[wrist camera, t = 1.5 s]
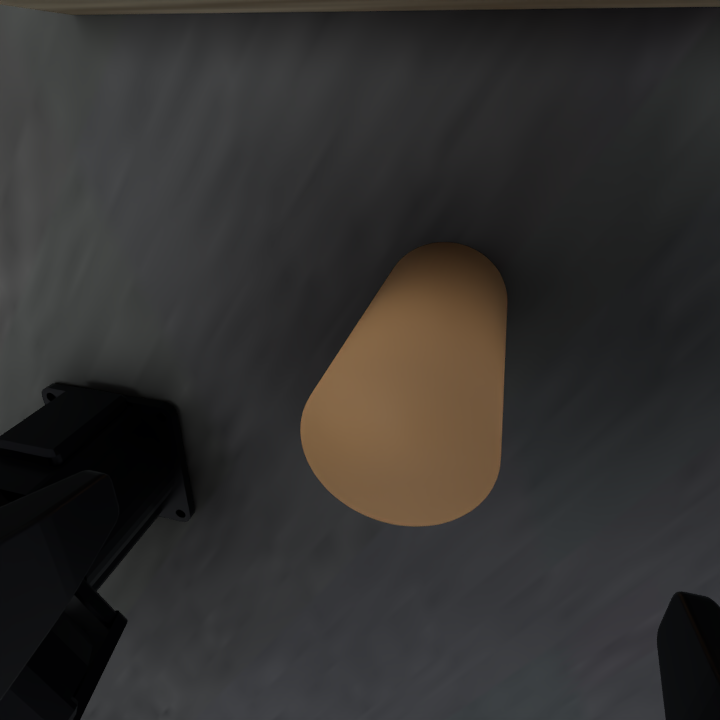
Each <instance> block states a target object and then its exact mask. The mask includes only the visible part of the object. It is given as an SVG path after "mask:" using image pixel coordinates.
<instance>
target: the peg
mask: <svg viewBox="0 0 720 720" xmlns="http://www.w3.org/2000/svg"><path fill="white" fill-rule="evenodd" d="M506 324H507V292H506V287H505V284H504V281H503V278H502V276H501V275H500V273H499V271H498V270H497V268H496V267H495V265H494V264H493V263H492V262H491V261H490V260H489V259H488V258H487V257H485V256H484V255H483V254H482V253H480V252H478V251H477V250H475V249H473V248H470V247H468V246H465V245H462V244H458V243H452V242H437V243H431V244H427V245H424V246H421V247H418V248H416V249H414V250H413V251H411V252H409V253H408V254H407V255H405V256H404V257H403V258H402V259H401V260H400V261H399V262H398V263H397V264H396V265H395V267H394V268H393V270H392V271H391V273H390V274H389V276H388V277H387V279H386V280H385V282H384V283H383V285H382V286H381V288H380V289H379V291H378V293H377V294H376V296H375V297H374V299H373V300H372V302H371V303H370V305H369V306H368V308H367V309H366V311H365V312H364V314H363V316H362V317H361V319H360V320H359V322H358V323H357V325H356V326H355V328H354V329H353V331H352V332H351V334H350V335H349V337H348V339H347V340H346V342H345V343H344V345H343V346H342V348H341V349H340V351H339V352H338V354H337V355H336V357H335V358H334V360H333V362H332V363H331V365H330V366H329V368H328V369H327V371H326V372H325V374H324V375H323V377H322V378H321V380H320V381H319V383H318V385H317V386H316V388H315V389H314V391H313V392H312V394H311V395H310V397H309V399H308V401H307V403H306V405H305V408H304V411H303V414H302V419H301V432H300V434H301V442H302V447H303V450H304V454H305V456H306V459H307V461H308V463H309V465H310V467H311V469H312V471H313V472H314V474H315V475H316V477H317V478H318V479H319V481H320V482H321V483H322V484H323V485H324V486H325V488H326V489H327V490H328V491H329V492H330V493H331V494H333V495H334V496H335V497H336V498H337V499H338V500H340V501H341V502H343V503H344V504H345V505H347V506H348V507H350V508H352V509H354V510H355V511H357V512H359V513H361V514H363V515H365V516H368V517H370V518H373V519H376V520H379V521H382V522H386V523H390V524H395V525H401V526H415V527H417V526H431V525H438V524H442V523H446V522H449V521H452V520H455V519H457V518H460V517H462V516H463V515H465V514H467V513H469V512H470V511H472V510H473V509H474V508H476V507H477V506H478V505H479V504H480V503H481V502H482V501H483V500H484V499H485V498H486V497H487V496H488V494H489V493H490V491H491V490H492V488H493V486H494V484H495V482H496V480H497V477H498V473H499V470H500V462H501V444H502V420H503V396H504V372H505V348H506Z"/></svg>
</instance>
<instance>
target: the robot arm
mask: <svg viewBox="0 0 720 720" xmlns="http://www.w3.org/2000/svg"><path fill="white" fill-rule="evenodd" d="M42 397H43V400H44V403H45V406H43V407H42V408H40V409H39V410H37V411H36V412H35V413H33V414H32V415H30V416H29V417H27V418H26V419H24V420H23V421H22V422H20V423H19V424H17V425H16V426H14V427H13V428H11V429H10V430H8V431H7V432H6V433H4V434H3V435H1V436H0V720H80V719H81V717H82V715H83V713H84V710H85V708H86V706H87V704H88V702H89V700H90V698H91V696H92V694H93V692H94V690H95V688H96V686H97V684H98V682H99V680H100V678H101V675H102V673H103V671H104V669H105V667H106V665H107V663H108V661H109V659H110V657H111V655H112V653H113V651H114V649H115V647H116V645H117V642H118V640H119V638H120V636H121V634H122V632H123V630H124V628H125V626H126V624H127V619H126V618H125V617H124V616H123V615H122V614H121V613H120V612H119V611H115V610H114V609H113V608H112V607H111V606H110V605H109V604H108V603H107V602H106V601H105V600H104V599H103V598H102V597H101V596H100V595H99V594H98V593H97V592H96V591H97V590H98V589H99V588H100V586H101V585H102V584H103V583H104V582H105V580H106V579H107V578H108V577H109V575H110V574H111V573H112V572H113V571H114V569H115V568H116V567H117V566H118V565H119V563H120V562H121V561H122V560H123V558H124V557H125V556H126V555H127V554H128V552H129V551H130V550H131V549H132V547H133V546H134V545H135V544H136V543H137V541H138V540H139V539H140V538H141V536H142V535H143V534H144V533H145V532H146V530H147V529H148V528H149V527H150V526H151V524H152V523H153V522H154V521H155V519H156V518H157V517H158V516H160V517H164V518H169V519H173V520H178V521H182V522H186V521H189V519H190V518H191V517H192V515H193V514H194V512H195V509H194V504H193V498H192V493H191V487H190V482H189V476H188V471H187V466H186V460H185V455H184V449H183V444H182V438H181V433H180V428H179V422H178V417H177V413H176V410H175V409H174V407H173V406H171V405H170V404H169V403H166V402H161V401H155V400H149V399H143V398H137V397H131V396H126V395H120V394H115V393H109V392H103V391H97V390H92V389H86V388H80V387H73V386H67V385H61V384H51V385H49V386H48V387H46V388H45V389H43V391H42ZM162 413H163V414H164V415H165V416H164V415H163V414H162ZM657 648H658V657H659V665H660V674H661V683H662V691H663V700H664V709H665V717H666V720H720V607H719V606H718V604H717V603H716V602H714V601H713V600H712V599H710V598H709V597H706V596H702V595H697V594H692V593H687V592H677V593H675V594H674V595H673V597H672V599H671V601H670V603H669V606H668V608H667V610H666V612H665V615H664V617H663V619H662V621H661V624H660V626H659V629H658V634H657Z"/></svg>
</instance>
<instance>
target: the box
mask: <svg viewBox="0 0 720 720" xmlns="http://www.w3.org/2000/svg"><path fill="white" fill-rule="evenodd" d="M0 4H1V5H8V6H15V7H22V8H28V9H35V10H42V11H49V12H56V13H63V14H70V15H104V14H182V13H259V12H337V11H415V10H492V9H570V8H648V7H720V0H0Z"/></svg>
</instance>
